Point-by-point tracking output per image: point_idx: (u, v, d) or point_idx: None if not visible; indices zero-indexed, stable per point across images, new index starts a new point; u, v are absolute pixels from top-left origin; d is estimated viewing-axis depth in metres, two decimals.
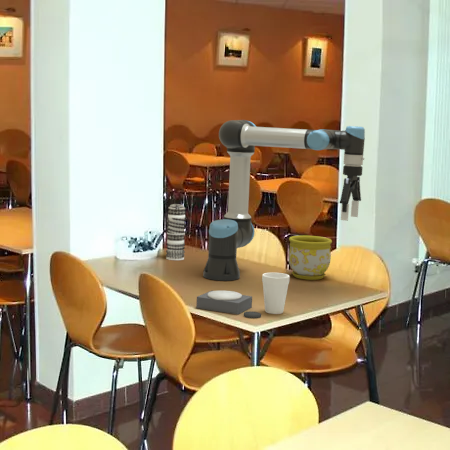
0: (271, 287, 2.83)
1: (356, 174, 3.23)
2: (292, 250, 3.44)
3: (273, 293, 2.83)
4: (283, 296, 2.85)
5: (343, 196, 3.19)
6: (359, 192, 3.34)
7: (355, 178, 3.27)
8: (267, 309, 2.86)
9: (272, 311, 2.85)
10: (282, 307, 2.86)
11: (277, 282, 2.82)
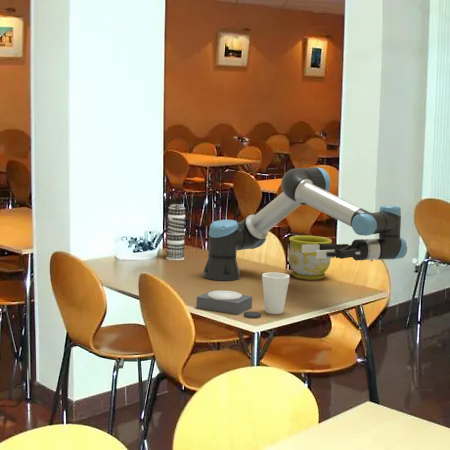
0: (271, 287, 2.83)
1: (359, 257, 2.91)
2: (292, 250, 3.44)
3: (273, 293, 2.83)
4: (283, 296, 2.85)
5: (345, 253, 2.82)
6: None
7: None
8: (267, 309, 2.86)
9: (272, 311, 2.85)
10: (282, 307, 2.86)
11: (277, 282, 2.82)
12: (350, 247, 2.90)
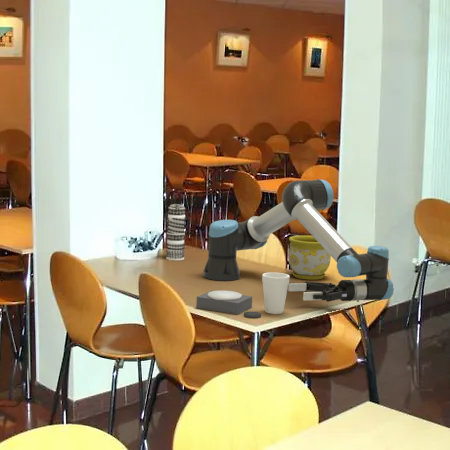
0: (271, 287, 2.83)
1: (345, 299, 2.91)
2: (292, 250, 3.44)
3: (273, 293, 2.83)
4: (283, 296, 2.85)
5: (332, 296, 2.82)
6: None
7: None
8: (267, 309, 2.86)
9: (272, 311, 2.85)
10: (282, 307, 2.86)
11: (277, 282, 2.82)
12: (337, 288, 2.90)
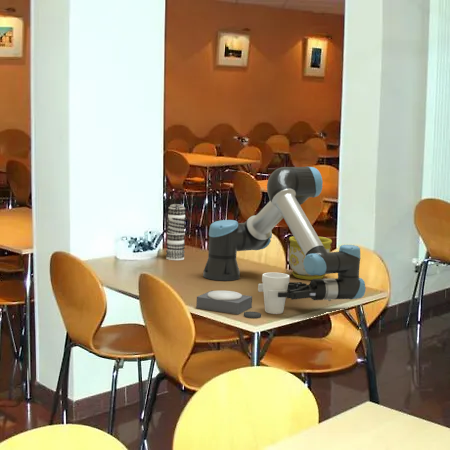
0: (271, 287, 2.83)
1: (316, 298, 2.89)
2: (292, 250, 3.44)
3: None
4: None
5: (297, 294, 2.81)
6: None
7: None
8: (267, 309, 2.86)
9: (272, 311, 2.85)
10: (282, 307, 2.86)
11: (277, 282, 2.82)
12: (307, 287, 2.88)
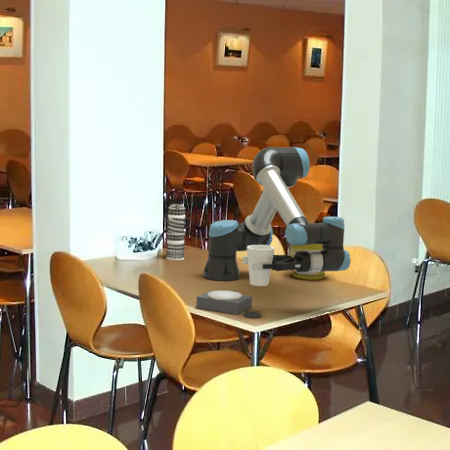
0: (256, 259, 2.81)
1: (301, 270, 2.88)
2: (292, 250, 3.44)
3: None
4: None
5: (282, 266, 2.80)
6: None
7: None
8: (252, 281, 2.84)
9: (257, 283, 2.83)
10: (267, 279, 2.84)
11: (262, 254, 2.80)
12: (292, 259, 2.87)
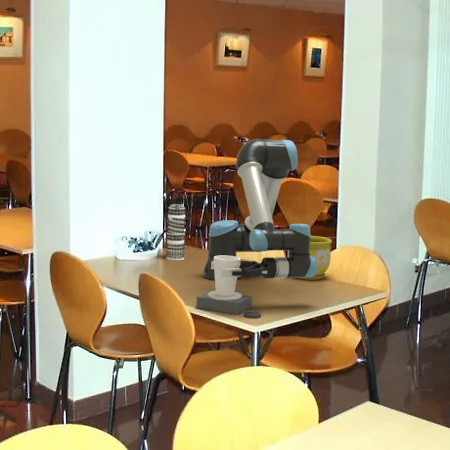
0: (221, 269, 2.85)
1: (267, 276, 2.91)
2: None
3: None
4: (233, 278, 2.87)
5: (251, 273, 2.82)
6: None
7: None
8: (217, 291, 2.88)
9: (222, 293, 2.87)
10: (232, 289, 2.88)
11: (227, 264, 2.84)
12: (258, 265, 2.90)
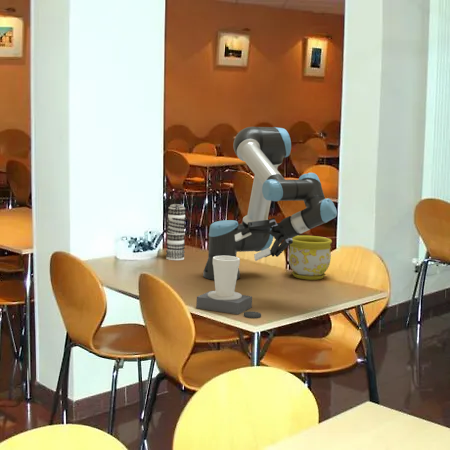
0: (221, 270, 2.85)
1: (284, 229, 2.93)
2: (292, 250, 3.44)
3: (223, 275, 2.85)
4: (233, 279, 2.87)
5: (254, 223, 2.94)
6: (279, 251, 3.04)
7: (284, 234, 2.97)
8: (217, 292, 2.88)
9: (222, 293, 2.87)
10: (232, 290, 2.88)
11: (227, 264, 2.84)
12: None
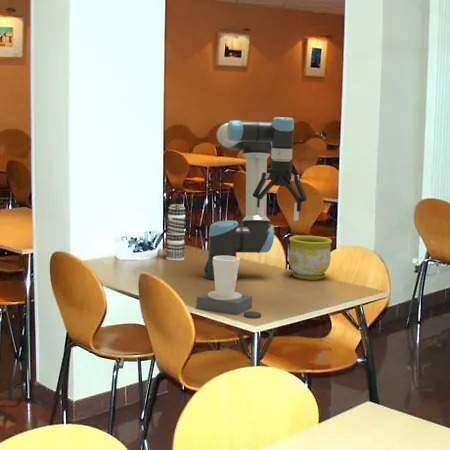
0: (221, 270, 2.85)
1: (271, 169, 2.96)
2: (292, 250, 3.44)
3: (223, 275, 2.85)
4: (233, 279, 2.87)
5: None
6: (299, 193, 2.94)
7: (281, 174, 2.96)
8: (217, 292, 2.88)
9: (222, 293, 2.87)
10: (232, 290, 2.88)
11: (227, 264, 2.84)
12: None
